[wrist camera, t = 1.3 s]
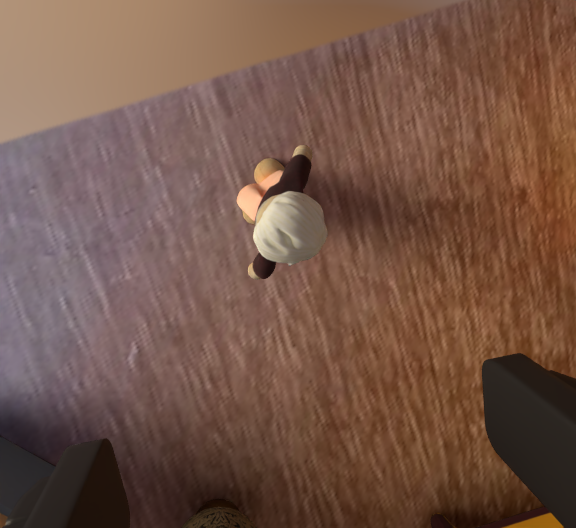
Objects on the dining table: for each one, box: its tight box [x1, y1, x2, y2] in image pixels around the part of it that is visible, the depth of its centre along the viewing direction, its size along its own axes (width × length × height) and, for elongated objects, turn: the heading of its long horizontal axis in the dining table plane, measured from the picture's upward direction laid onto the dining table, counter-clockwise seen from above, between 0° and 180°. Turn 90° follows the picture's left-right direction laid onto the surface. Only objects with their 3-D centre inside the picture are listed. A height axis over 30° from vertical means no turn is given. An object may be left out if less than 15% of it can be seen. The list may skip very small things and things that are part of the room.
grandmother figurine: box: [237, 145, 327, 279], centre depth 26 cm, size 8×4×13 cm, turn 170°
